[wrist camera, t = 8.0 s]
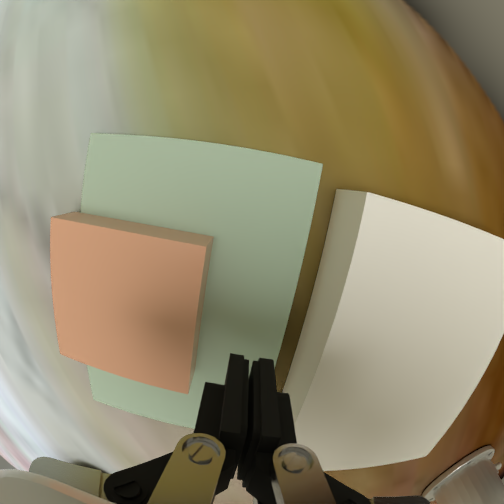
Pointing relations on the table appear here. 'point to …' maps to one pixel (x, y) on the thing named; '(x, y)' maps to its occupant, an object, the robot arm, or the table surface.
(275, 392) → the robot arm
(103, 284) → the terracotta tile
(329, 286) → the painted board
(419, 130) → the table surface
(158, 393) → the rubber mat
